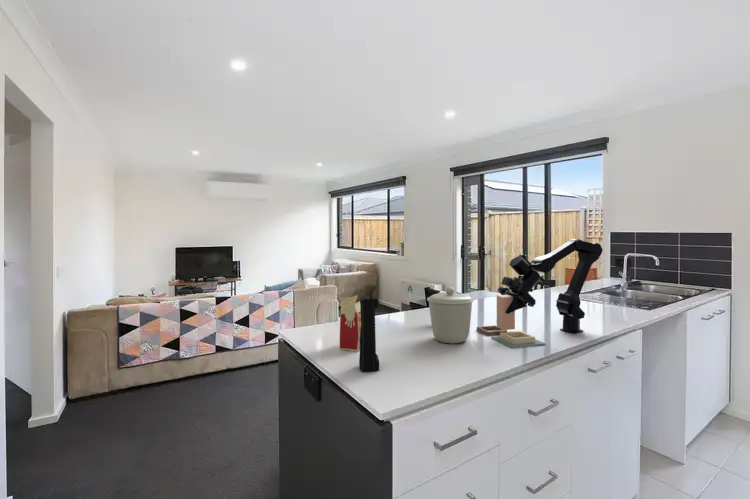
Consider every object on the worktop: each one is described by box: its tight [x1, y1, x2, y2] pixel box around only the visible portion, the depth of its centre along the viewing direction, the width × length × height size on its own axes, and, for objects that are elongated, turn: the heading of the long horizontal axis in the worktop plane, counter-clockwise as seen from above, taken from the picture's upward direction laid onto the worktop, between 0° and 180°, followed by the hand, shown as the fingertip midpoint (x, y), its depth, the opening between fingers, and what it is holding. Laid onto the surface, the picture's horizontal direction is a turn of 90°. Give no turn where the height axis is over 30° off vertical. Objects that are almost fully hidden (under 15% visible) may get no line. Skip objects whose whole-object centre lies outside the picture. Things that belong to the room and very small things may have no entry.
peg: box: [496, 294, 516, 331], centre depth 145 cm, size 5×5×13 cm
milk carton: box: [339, 294, 361, 353], centre depth 136 cm, size 9×9×20 cm
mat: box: [490, 330, 546, 349], centre depth 140 cm, size 14×14×3 cm
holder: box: [476, 324, 508, 337], centre depth 154 cm, size 9×9×2 cm
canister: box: [426, 286, 475, 344], centre depth 143 cm, size 18×18×21 cm
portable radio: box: [358, 291, 380, 373], centre depth 115 cm, size 8×6×25 cm
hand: (502, 311), depth 145 cm, fingers closed on peg, 5 cm apart
